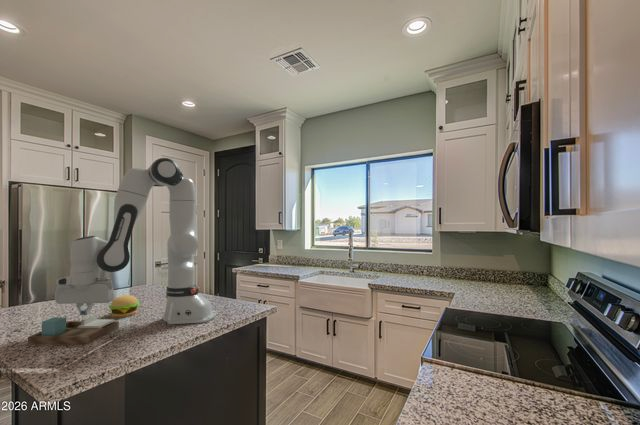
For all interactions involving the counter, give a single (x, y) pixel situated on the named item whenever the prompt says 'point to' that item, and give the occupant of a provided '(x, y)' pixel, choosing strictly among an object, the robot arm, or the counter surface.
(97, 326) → the cover
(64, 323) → the block
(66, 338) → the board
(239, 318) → the counter surface
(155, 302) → the counter surface
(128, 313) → the hamburger
